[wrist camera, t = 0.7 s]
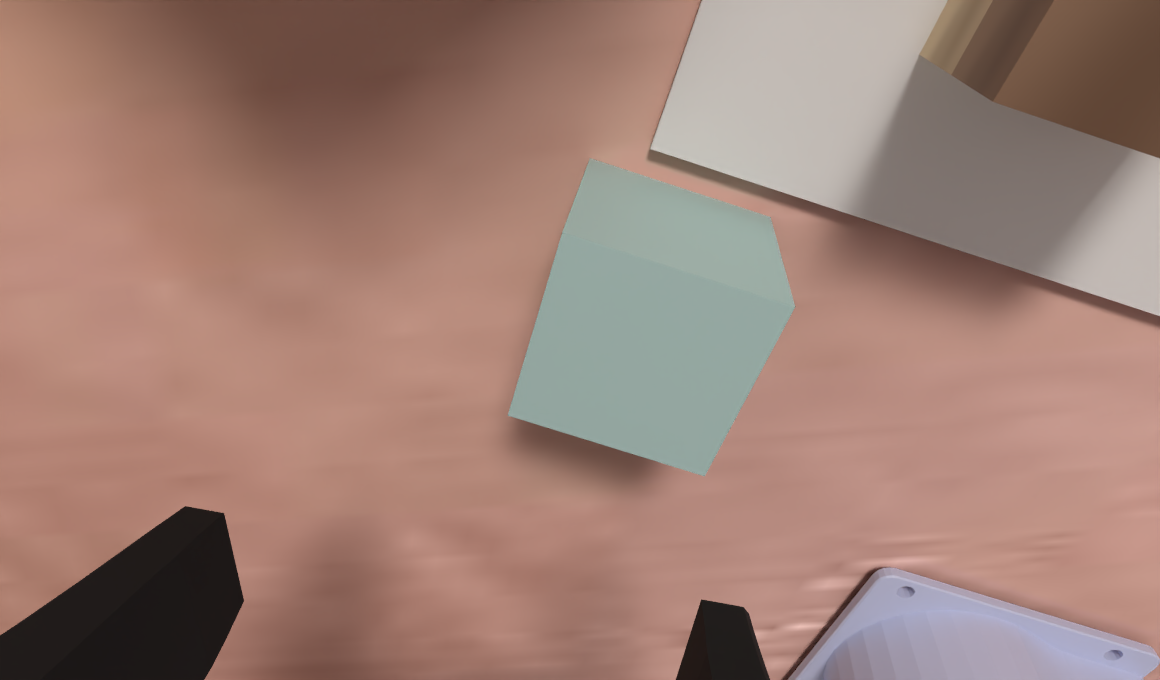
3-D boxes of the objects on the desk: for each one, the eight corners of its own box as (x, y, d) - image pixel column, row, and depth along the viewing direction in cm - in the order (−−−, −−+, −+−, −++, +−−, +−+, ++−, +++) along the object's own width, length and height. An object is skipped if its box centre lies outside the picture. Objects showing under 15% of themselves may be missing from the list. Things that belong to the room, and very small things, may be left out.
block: (769, 215, 17) (795, 306, 13) (700, 363, 19) (704, 476, 15) (590, 157, 17) (562, 232, 13) (542, 312, 19) (507, 415, 15)
